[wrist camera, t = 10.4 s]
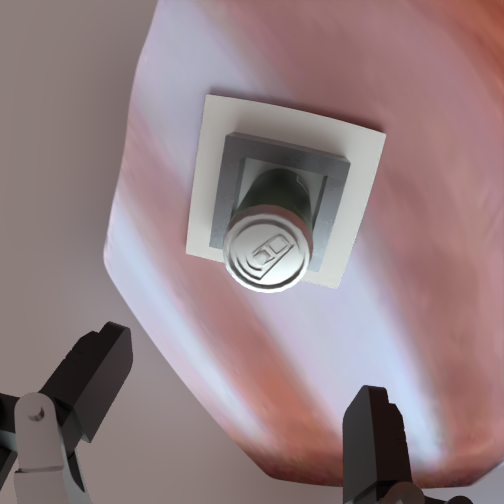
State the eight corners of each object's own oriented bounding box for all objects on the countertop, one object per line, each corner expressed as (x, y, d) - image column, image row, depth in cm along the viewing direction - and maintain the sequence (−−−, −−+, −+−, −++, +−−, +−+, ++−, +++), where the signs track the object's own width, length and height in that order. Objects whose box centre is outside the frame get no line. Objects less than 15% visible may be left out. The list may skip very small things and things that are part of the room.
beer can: (282, 154, 27) (269, 189, 16) (322, 199, 28) (333, 262, 18) (238, 192, 29) (199, 249, 18) (277, 234, 30) (261, 310, 20)
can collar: (233, 131, 27) (225, 135, 24) (345, 157, 26) (350, 163, 24) (217, 233, 31) (208, 246, 29) (317, 256, 31) (318, 272, 28)
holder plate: (209, 94, 26) (206, 94, 25) (383, 133, 26) (386, 134, 25) (188, 249, 34) (185, 253, 33) (336, 283, 33) (337, 288, 32)
